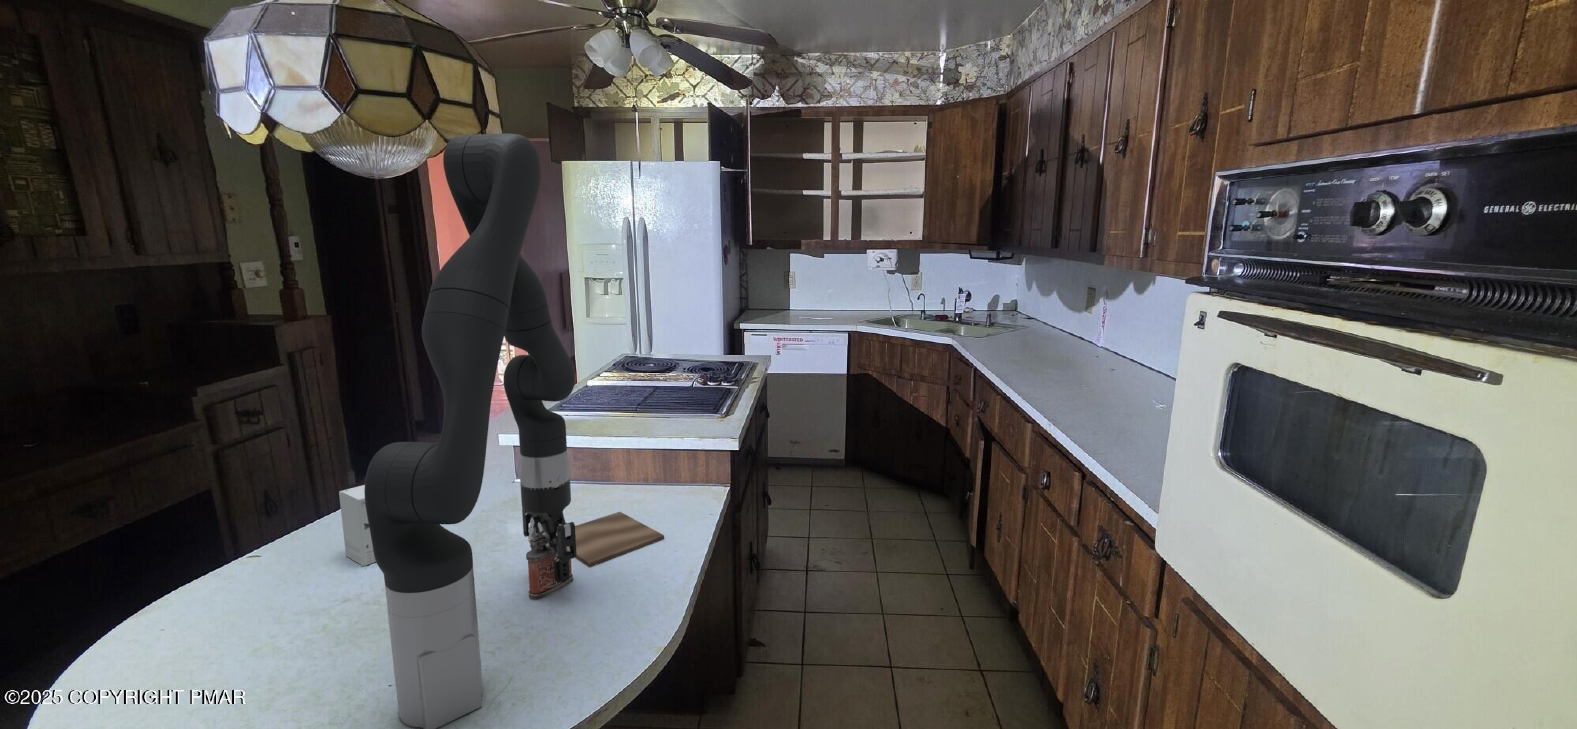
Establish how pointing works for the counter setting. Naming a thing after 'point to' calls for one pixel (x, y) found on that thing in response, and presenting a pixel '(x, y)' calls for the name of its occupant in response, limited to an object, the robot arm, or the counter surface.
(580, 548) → the board
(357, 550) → the supplement box
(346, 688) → the counter surface
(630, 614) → the counter surface
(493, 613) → the counter surface
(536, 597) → the lighter
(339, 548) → the counter surface
